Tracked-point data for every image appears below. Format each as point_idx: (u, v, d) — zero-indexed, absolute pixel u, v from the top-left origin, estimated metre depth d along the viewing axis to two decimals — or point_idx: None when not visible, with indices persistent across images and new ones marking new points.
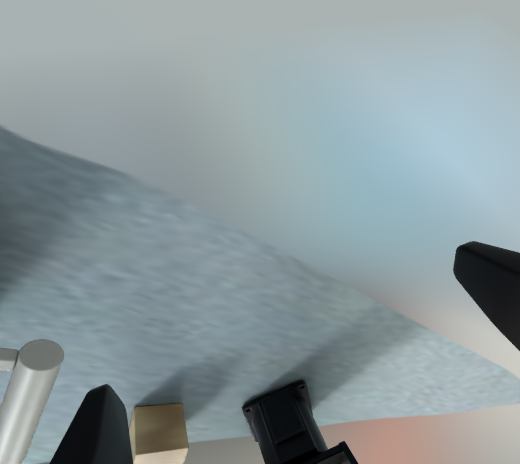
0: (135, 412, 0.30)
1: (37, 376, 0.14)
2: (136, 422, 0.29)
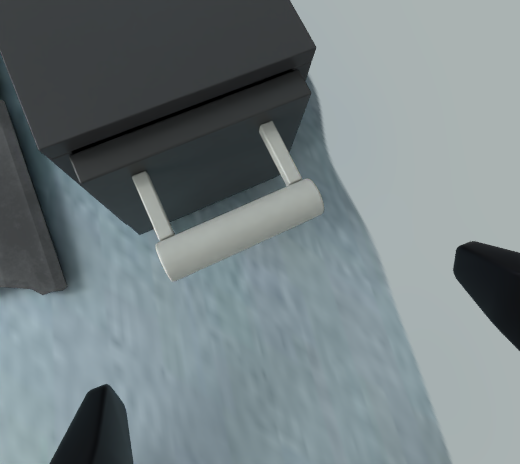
0: None
1: (311, 194, 0.14)
2: None
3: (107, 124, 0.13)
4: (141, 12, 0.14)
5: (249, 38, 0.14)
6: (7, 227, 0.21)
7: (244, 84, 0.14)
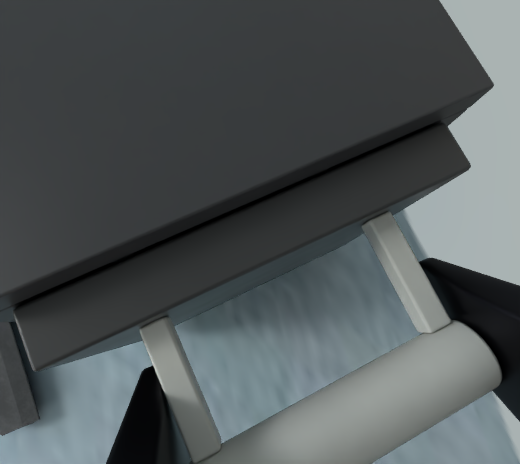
0: None
1: (482, 366, 0.07)
2: None
3: (89, 256, 0.06)
4: (158, 18, 0.07)
5: (369, 68, 0.07)
6: None
7: (355, 155, 0.07)
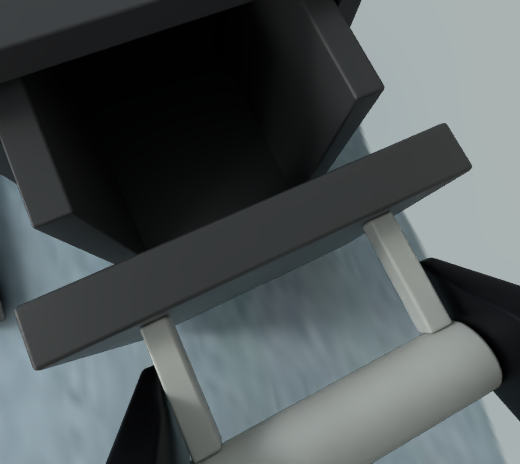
0: None
1: (483, 366, 0.07)
2: None
3: (9, 47, 0.07)
4: None
5: None
6: None
7: None
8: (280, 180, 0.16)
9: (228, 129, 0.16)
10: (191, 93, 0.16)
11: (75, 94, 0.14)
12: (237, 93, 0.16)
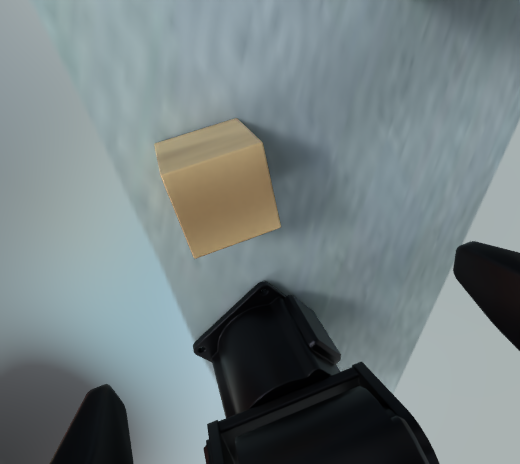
0: None
1: None
2: (245, 127, 0.16)
3: None
4: None
5: None
6: None
7: None
8: None
9: None
10: None
11: None
12: None
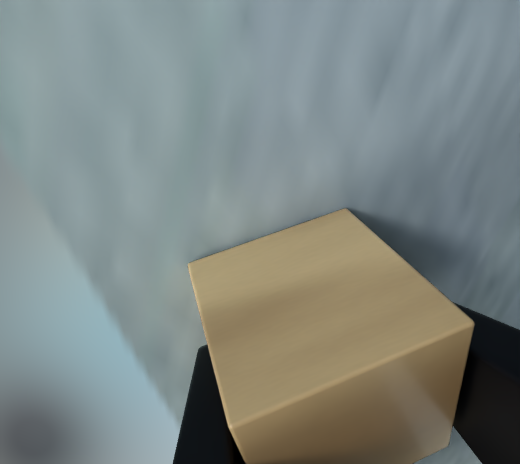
0: (357, 219, 0.08)
1: None
2: (380, 240, 0.08)
3: None
4: None
5: None
6: None
7: None
8: None
9: None
10: None
11: None
12: None
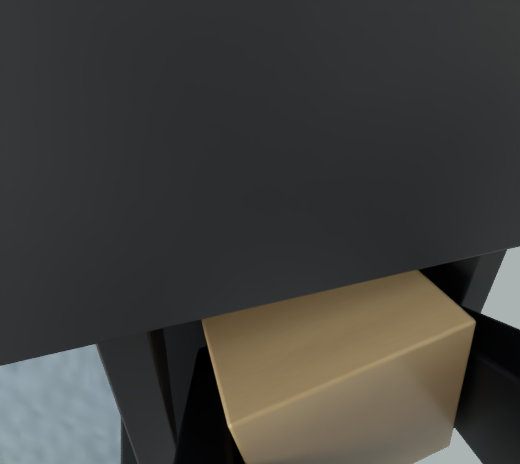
0: None
1: None
2: None
3: (162, 320, 0.04)
4: None
5: None
6: None
7: None
8: None
9: None
10: None
11: None
12: None
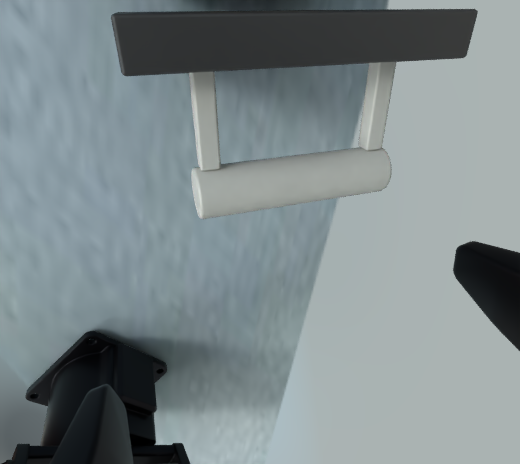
0: None
1: (381, 179, 0.12)
2: None
3: None
4: None
5: None
6: None
7: None
8: None
9: None
10: None
11: None
12: None
